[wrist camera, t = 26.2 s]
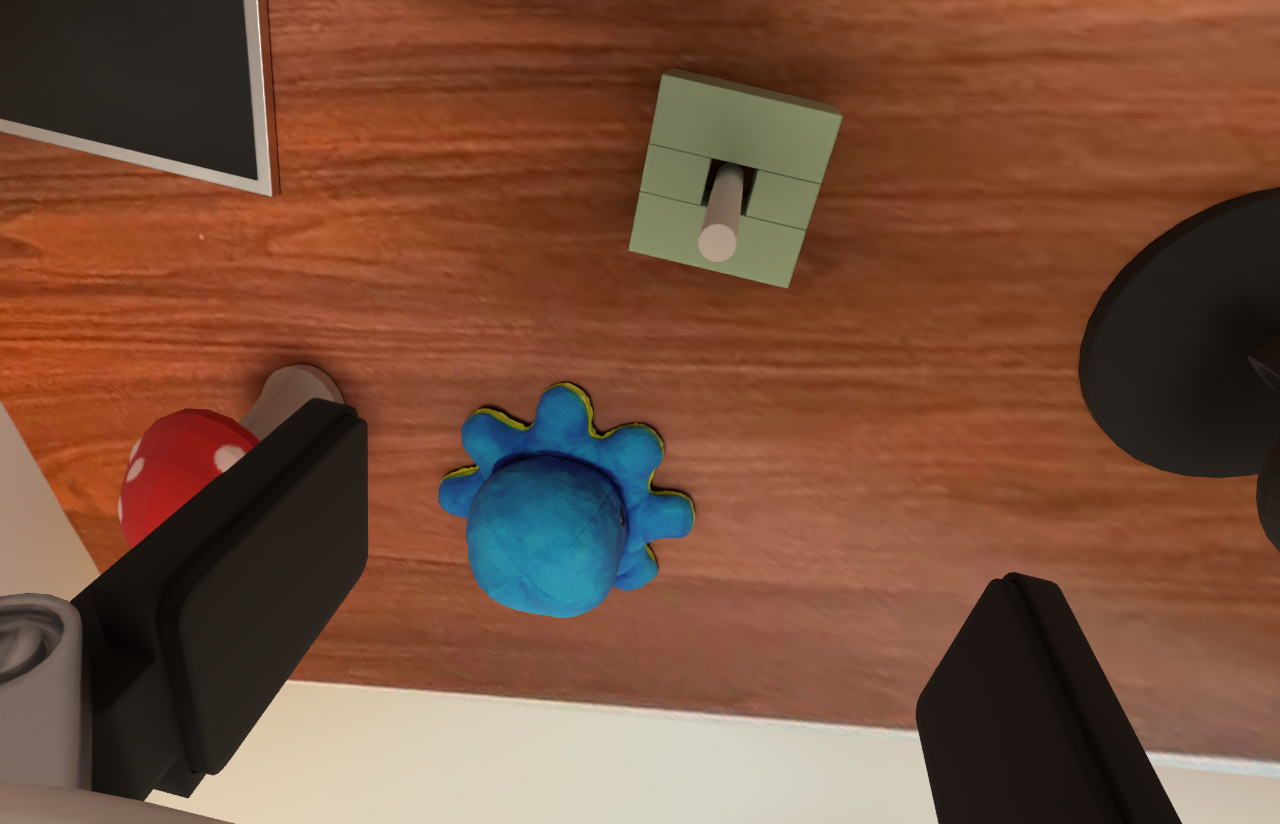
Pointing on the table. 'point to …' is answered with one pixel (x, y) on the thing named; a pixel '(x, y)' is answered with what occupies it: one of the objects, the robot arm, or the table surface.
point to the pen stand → (742, 134)
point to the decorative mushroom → (206, 448)
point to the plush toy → (561, 506)
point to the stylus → (722, 214)
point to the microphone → (1196, 351)
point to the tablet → (145, 84)
